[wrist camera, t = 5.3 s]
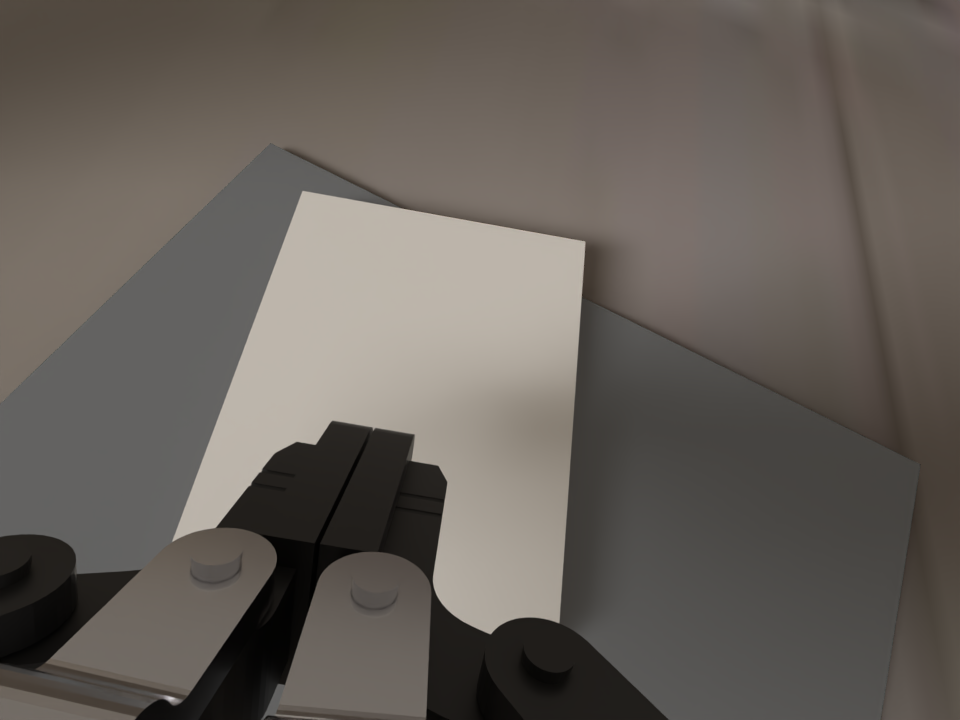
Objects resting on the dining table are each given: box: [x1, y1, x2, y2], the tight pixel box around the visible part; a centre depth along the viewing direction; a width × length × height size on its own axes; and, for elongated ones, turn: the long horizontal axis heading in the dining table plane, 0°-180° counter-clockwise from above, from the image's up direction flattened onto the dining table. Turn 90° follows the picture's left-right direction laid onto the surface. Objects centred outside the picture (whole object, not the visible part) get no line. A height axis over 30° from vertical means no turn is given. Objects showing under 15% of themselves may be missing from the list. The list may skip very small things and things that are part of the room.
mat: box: [0, 143, 921, 720], centre depth 14 cm, size 24×24×1 cm
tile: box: [172, 191, 585, 634], centre depth 16 cm, size 2×9×12 cm
